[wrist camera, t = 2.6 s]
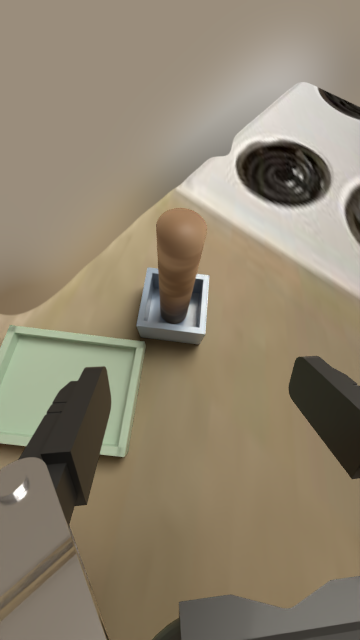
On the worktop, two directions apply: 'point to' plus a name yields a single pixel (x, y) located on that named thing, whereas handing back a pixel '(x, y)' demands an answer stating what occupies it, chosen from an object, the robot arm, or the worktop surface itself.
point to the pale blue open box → (158, 328)
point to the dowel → (178, 260)
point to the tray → (65, 380)
